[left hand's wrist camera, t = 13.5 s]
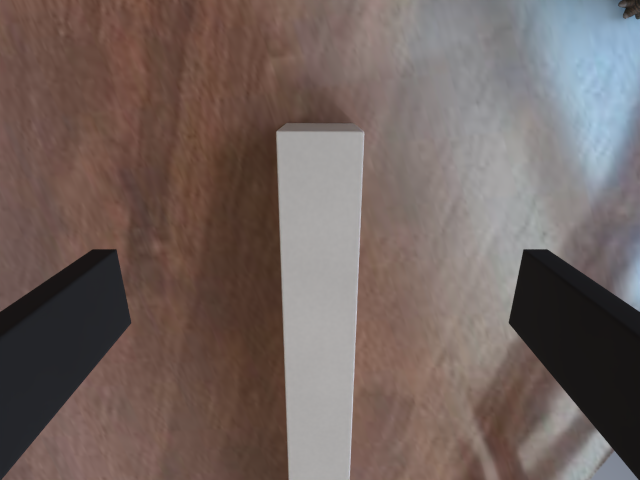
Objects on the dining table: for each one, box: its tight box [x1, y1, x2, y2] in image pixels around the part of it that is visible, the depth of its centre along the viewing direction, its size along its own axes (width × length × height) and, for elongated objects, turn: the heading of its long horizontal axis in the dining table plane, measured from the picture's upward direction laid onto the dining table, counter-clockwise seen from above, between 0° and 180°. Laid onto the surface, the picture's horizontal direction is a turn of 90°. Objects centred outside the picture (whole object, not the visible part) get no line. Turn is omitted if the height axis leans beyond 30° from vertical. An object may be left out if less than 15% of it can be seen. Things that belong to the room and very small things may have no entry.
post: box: [276, 123, 364, 480], centre depth 40 cm, size 67×6×8 cm, turn 0°
